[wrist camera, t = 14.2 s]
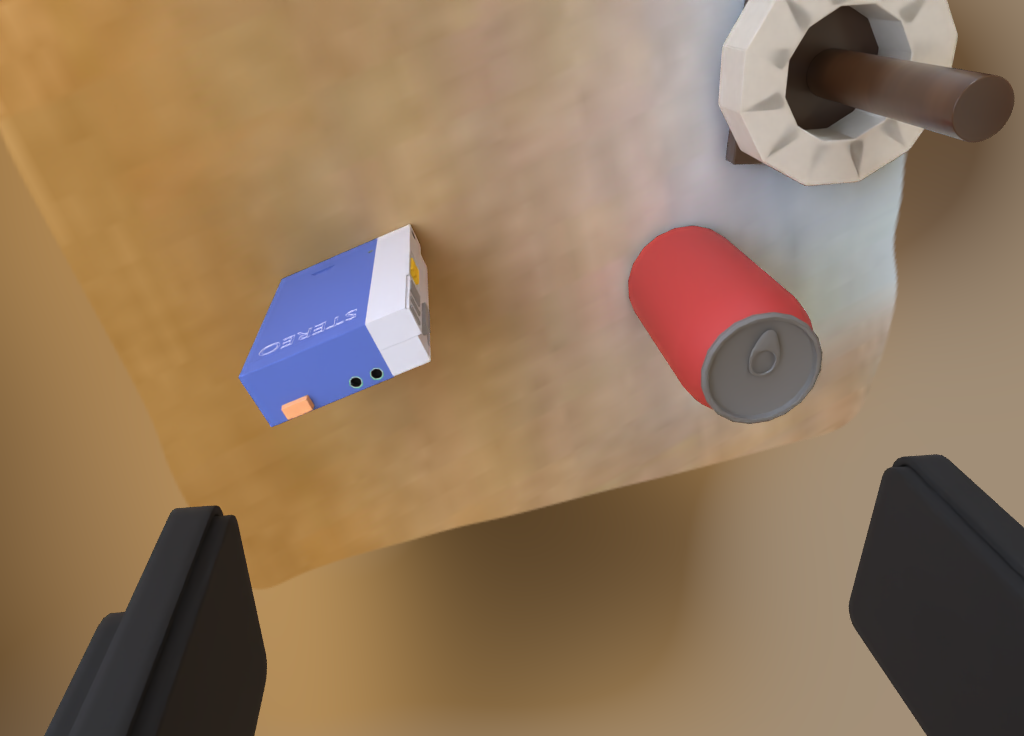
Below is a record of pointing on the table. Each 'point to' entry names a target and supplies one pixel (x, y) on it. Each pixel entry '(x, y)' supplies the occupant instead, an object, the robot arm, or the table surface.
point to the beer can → (724, 325)
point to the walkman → (341, 328)
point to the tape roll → (763, 78)
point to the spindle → (883, 86)
